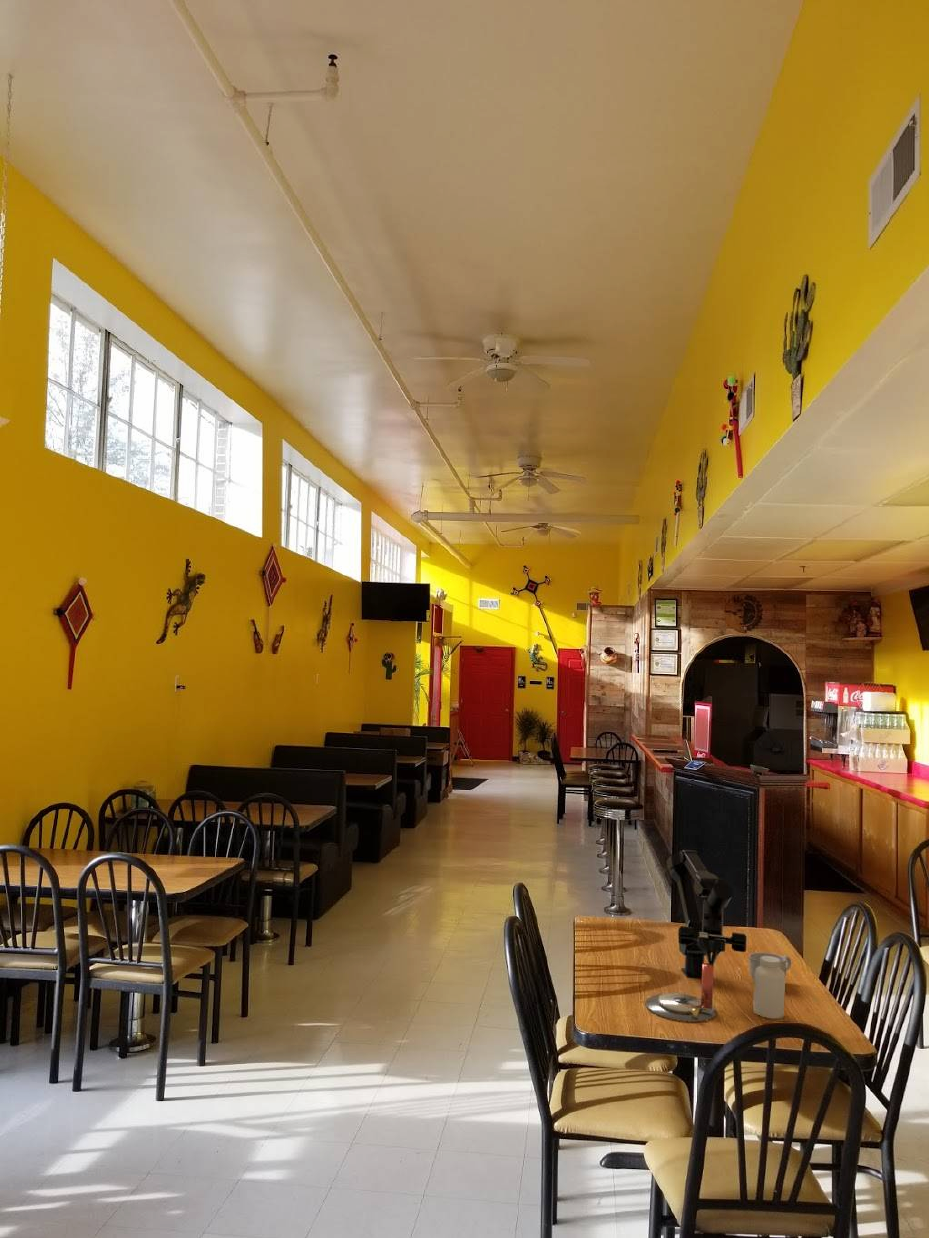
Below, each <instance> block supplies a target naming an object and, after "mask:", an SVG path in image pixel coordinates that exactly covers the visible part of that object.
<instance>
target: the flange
mask: <svg viewBox="0 0 929 1238" xmlns="http://www.w3.org/2000/svg"><path fill="white" fill-rule="evenodd" d="M714 965H715V964H714ZM714 965H712V964H709V963H708V962H704V963H703V964H702V977H701V990H700V997H701V998H698V997H695V996H693V995H690V994H685V993H679V992H671V993H669V992H668V993H667V992H666V993H663V994H662V995H660V996H659V1001H658V1003H659V1005H660V1006H661V1007H662V1008H664V1009H666V1010H669V1011H672V1012H676V1013H682V1014H692V1009H693V1008H697V1009H699V1012H701V1011H702V1012H704V1013H709V1014H713V1013H714V1011H715V1009H716V1005H715V1004H713V997H714V994H713V993H714V970H715V969H714ZM700 999H701V1000H700ZM699 1012H698V1013H699Z"/></svg>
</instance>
